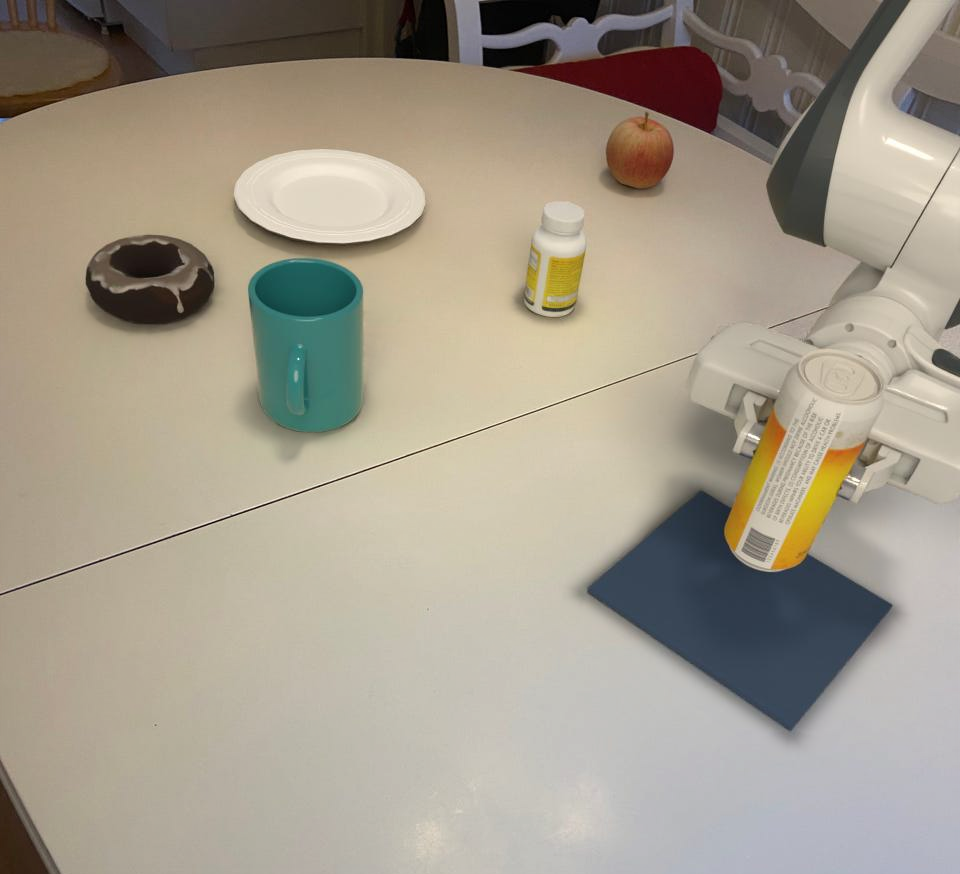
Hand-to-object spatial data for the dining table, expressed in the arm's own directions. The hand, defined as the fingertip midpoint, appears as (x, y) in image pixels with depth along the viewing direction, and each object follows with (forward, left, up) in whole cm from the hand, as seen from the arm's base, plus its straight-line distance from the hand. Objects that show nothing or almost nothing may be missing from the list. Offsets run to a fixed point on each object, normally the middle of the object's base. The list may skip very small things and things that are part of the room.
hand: (797, 470), depth 63 cm
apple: (+46, -51, -14) cm, 70 cm away
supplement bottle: (+36, -22, -14) cm, 44 cm away
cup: (+39, +8, -14) cm, 42 cm away
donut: (+62, +7, -14) cm, 64 cm away
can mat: (0, -1, -14) cm, 14 cm away
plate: (+64, -18, -14) cm, 68 cm away
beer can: (0, -1, -8) cm, 8 cm away
